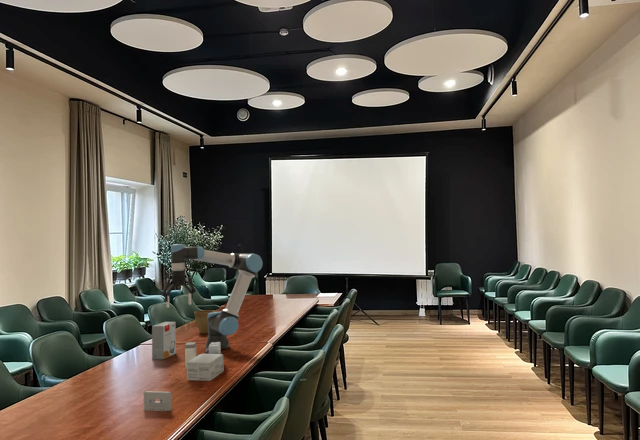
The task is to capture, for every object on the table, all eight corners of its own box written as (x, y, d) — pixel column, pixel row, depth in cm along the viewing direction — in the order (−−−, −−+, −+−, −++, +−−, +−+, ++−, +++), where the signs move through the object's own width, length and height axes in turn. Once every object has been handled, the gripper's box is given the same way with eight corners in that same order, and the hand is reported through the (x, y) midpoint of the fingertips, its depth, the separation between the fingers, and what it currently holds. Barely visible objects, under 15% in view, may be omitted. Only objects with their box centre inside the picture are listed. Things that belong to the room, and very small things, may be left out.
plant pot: (218, 331, 363) (218, 310, 364) (204, 335, 351) (203, 313, 351) (205, 329, 371) (204, 309, 372) (190, 333, 359) (189, 312, 359)
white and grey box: (185, 368, 262) (184, 344, 263) (187, 365, 268) (187, 342, 268) (202, 367, 263) (201, 344, 263) (203, 365, 268) (203, 341, 269)
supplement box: (201, 370, 258) (200, 353, 258) (224, 371, 255) (223, 353, 255) (186, 380, 241) (185, 361, 241) (210, 381, 238) (209, 362, 239)
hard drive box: (163, 360, 282) (162, 326, 283) (151, 359, 284) (151, 326, 285) (176, 353, 298) (175, 321, 298) (165, 353, 299) (164, 321, 300)
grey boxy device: (201, 368, 260) (201, 346, 261) (204, 363, 271) (204, 342, 271) (218, 368, 261) (217, 346, 261) (220, 363, 271) (220, 341, 272)
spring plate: (204, 366, 262) (204, 351, 262) (207, 362, 270) (207, 348, 270) (207, 366, 262) (206, 351, 262) (209, 362, 270) (209, 348, 270)
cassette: (172, 409, 200) (171, 391, 200) (170, 411, 198) (169, 392, 198) (145, 409, 202) (145, 390, 202) (143, 410, 200) (142, 392, 200)
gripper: (195, 268, 294) (196, 302, 293) (155, 271, 278) (156, 307, 278) (200, 268, 288) (201, 304, 287) (159, 271, 273) (160, 309, 272)
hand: (179, 305), depth 283 cm, fingers open, 13 cm apart
